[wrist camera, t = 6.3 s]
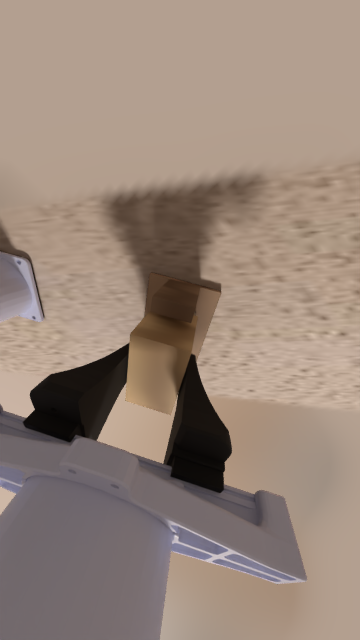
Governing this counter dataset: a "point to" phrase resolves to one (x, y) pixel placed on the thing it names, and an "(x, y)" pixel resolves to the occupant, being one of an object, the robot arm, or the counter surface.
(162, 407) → the block
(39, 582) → the robot arm
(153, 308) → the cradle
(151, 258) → the counter surface
